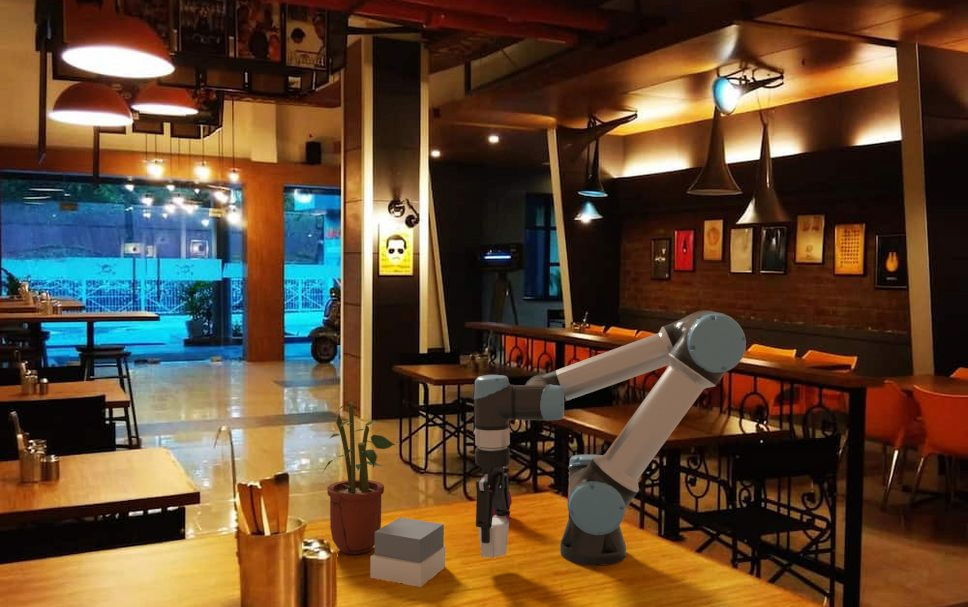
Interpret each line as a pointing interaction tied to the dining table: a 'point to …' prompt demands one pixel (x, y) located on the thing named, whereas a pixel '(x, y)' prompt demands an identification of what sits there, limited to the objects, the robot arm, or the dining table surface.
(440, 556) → the tower base
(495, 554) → the white cup
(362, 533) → the potted plant
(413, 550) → the tower top
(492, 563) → the dining table surface
